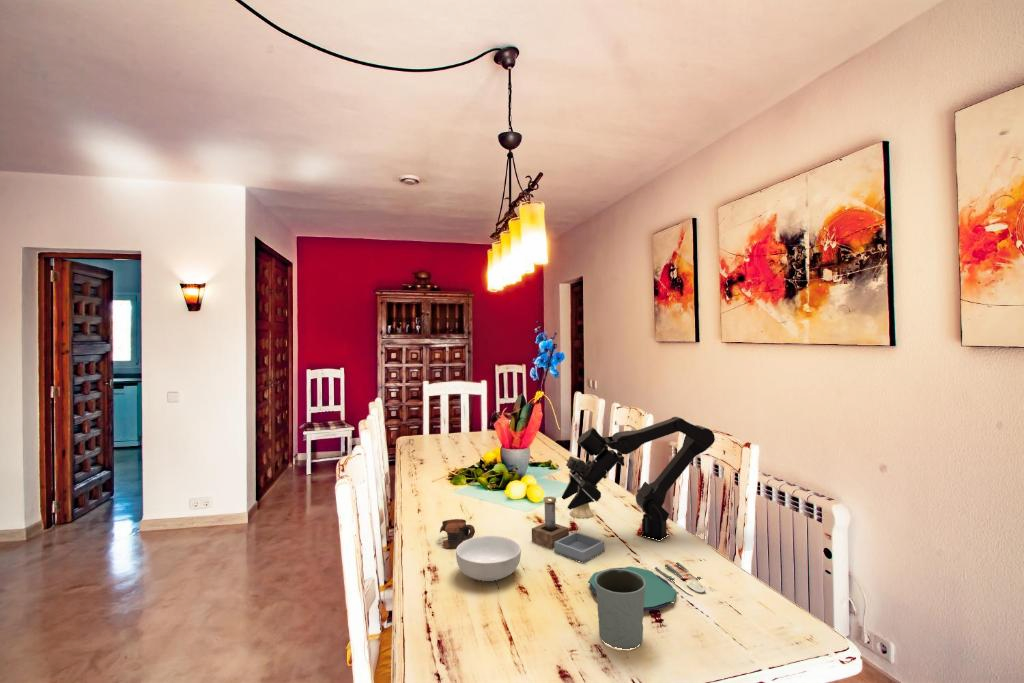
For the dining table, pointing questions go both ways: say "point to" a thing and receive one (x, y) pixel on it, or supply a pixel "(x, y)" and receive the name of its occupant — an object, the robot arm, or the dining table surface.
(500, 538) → the cereal bowl
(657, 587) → the cutlery set
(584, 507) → the hand bell
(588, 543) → the slate tray
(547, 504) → the pin
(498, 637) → the dining table surface
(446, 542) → the brown clay jug
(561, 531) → the walnut block
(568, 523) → the dining table surface
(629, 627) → the grey cylindrical pot
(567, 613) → the dining table surface
